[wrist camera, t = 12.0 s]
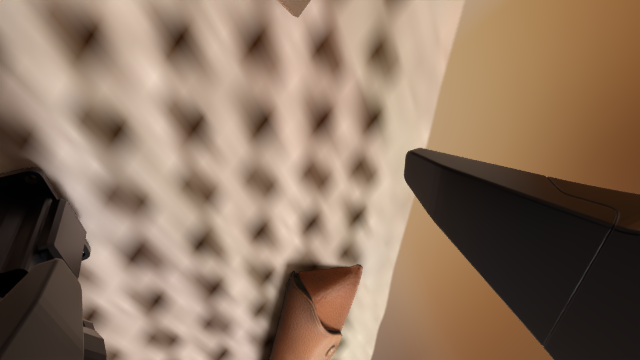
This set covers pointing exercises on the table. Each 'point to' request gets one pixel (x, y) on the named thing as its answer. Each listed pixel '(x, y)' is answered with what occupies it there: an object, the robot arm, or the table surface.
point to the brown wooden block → (295, 6)
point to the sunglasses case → (315, 313)
